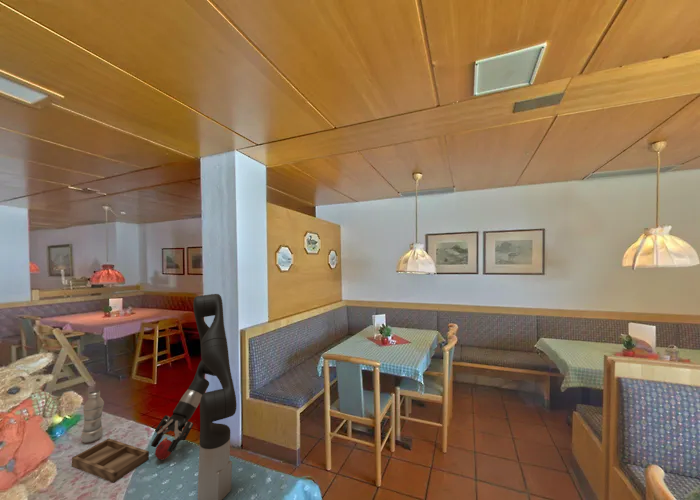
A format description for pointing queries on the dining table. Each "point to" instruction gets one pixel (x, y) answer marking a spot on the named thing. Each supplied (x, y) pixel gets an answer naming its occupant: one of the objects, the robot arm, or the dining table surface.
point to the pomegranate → (163, 449)
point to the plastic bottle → (92, 417)
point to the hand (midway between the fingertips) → (161, 449)
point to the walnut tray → (110, 459)
